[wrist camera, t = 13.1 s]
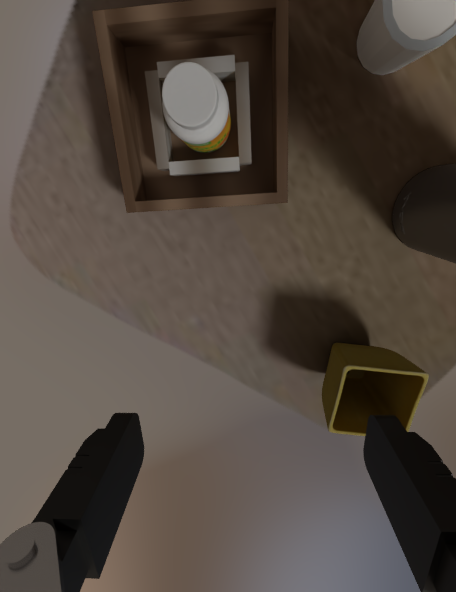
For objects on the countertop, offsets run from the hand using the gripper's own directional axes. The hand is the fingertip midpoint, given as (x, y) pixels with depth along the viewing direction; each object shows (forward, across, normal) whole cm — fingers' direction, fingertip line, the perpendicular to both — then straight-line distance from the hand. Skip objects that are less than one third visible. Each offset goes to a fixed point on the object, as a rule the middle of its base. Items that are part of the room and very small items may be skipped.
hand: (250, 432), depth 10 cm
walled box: (+27, +4, -15) cm, 31 cm away
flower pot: (+27, -14, +14) cm, 33 cm away
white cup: (+27, -14, -21) cm, 37 cm away
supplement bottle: (+26, +4, -14) cm, 30 cm away
